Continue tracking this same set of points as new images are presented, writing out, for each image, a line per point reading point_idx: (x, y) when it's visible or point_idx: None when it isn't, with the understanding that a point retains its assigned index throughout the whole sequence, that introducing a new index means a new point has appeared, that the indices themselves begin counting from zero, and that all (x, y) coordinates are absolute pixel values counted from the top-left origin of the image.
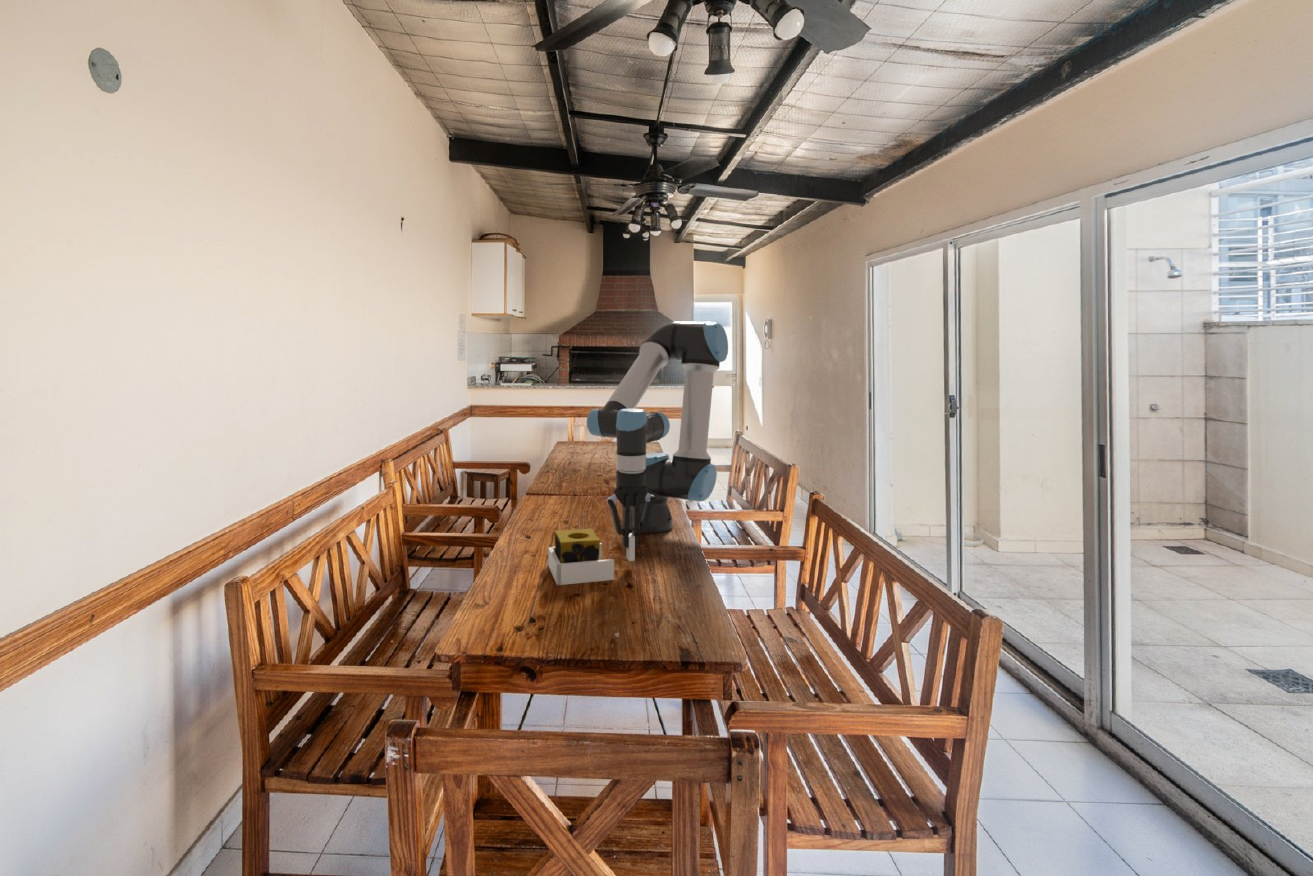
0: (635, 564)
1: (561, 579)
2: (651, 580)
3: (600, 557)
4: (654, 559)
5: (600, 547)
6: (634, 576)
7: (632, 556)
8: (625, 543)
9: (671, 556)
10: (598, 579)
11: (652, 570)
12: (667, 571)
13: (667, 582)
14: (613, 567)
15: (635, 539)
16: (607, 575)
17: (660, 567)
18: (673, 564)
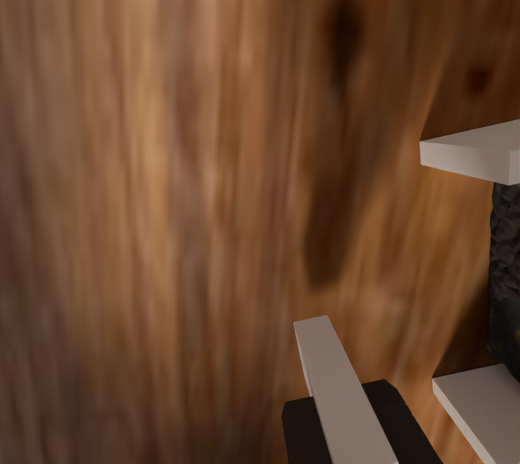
0: (274, 354)
1: None
2: (202, 123)
3: (453, 395)
4: (175, 413)
5: (492, 445)
6: (297, 192)
7: (312, 337)
8: (398, 409)
9: (90, 448)
10: (518, 120)
11: (190, 276)
12: (105, 261)
13: (101, 83)
14: (472, 146)
15: (316, 457)
16: (477, 134)
17: (145, 316)
18: (75, 355)
